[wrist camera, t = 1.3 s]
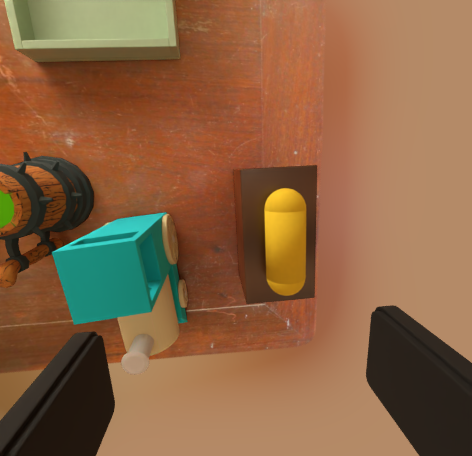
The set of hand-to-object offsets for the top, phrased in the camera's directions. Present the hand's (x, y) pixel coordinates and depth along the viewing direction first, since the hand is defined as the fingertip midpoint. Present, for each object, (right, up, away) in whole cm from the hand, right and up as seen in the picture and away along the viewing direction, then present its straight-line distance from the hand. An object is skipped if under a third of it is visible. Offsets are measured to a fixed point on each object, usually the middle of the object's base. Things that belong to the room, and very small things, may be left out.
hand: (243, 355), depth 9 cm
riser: (+4, +5, +27) cm, 28 cm away
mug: (-24, +7, +25) cm, 35 cm away
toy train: (-12, -2, +28) cm, 30 cm away
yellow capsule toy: (+5, +3, +19) cm, 19 cm away
